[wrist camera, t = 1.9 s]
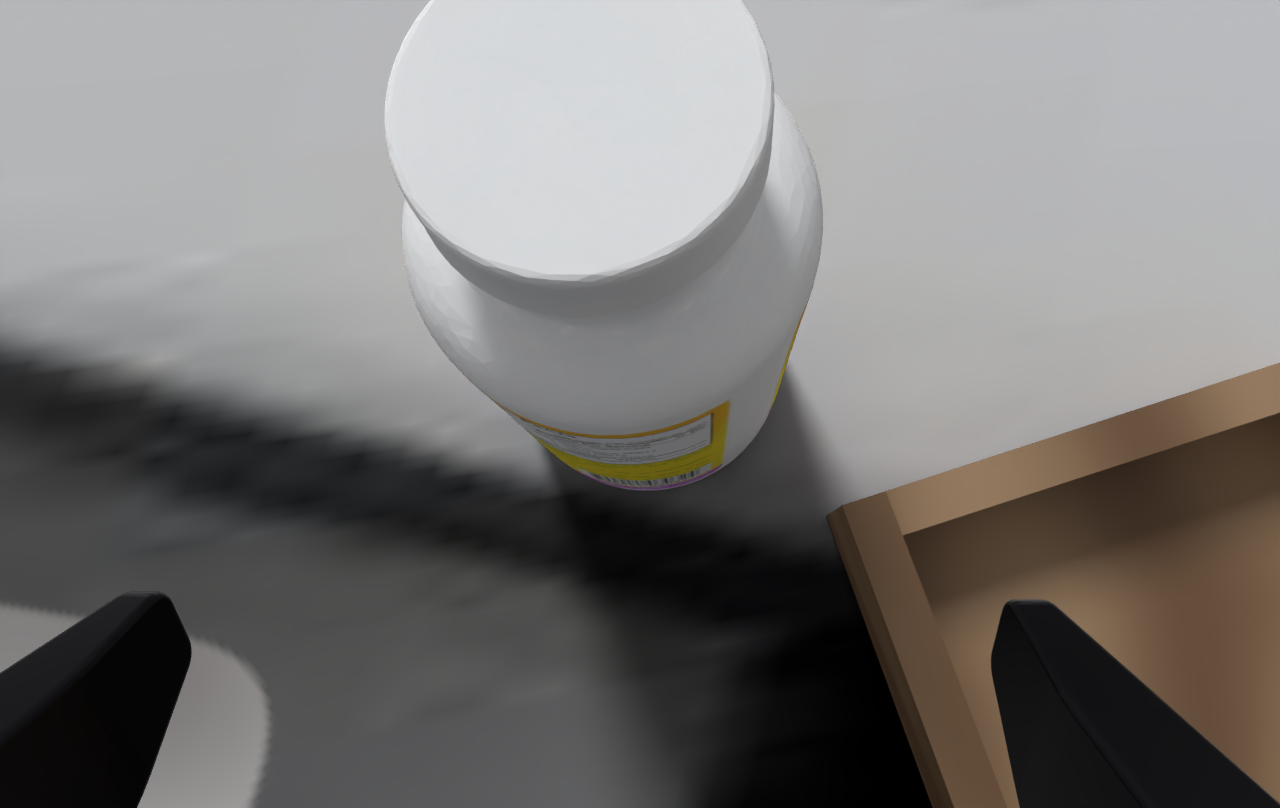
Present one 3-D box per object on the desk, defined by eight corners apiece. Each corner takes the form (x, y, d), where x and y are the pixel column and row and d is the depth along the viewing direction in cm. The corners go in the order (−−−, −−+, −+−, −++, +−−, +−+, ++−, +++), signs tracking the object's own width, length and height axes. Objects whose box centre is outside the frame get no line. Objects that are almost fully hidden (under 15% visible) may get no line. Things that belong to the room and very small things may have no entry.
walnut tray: (1020, 1047, 19) (1068, 1116, 16) (826, 516, 22) (842, 505, 19) (1550, 875, 19) (1681, 918, 16) (1290, 364, 22) (1368, 334, 19)
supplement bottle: (653, 199, 24) (596, -241, 11) (832, 368, 22) (994, 83, 10) (469, 367, 23) (193, 100, 11) (643, 551, 22) (559, 494, 9)
